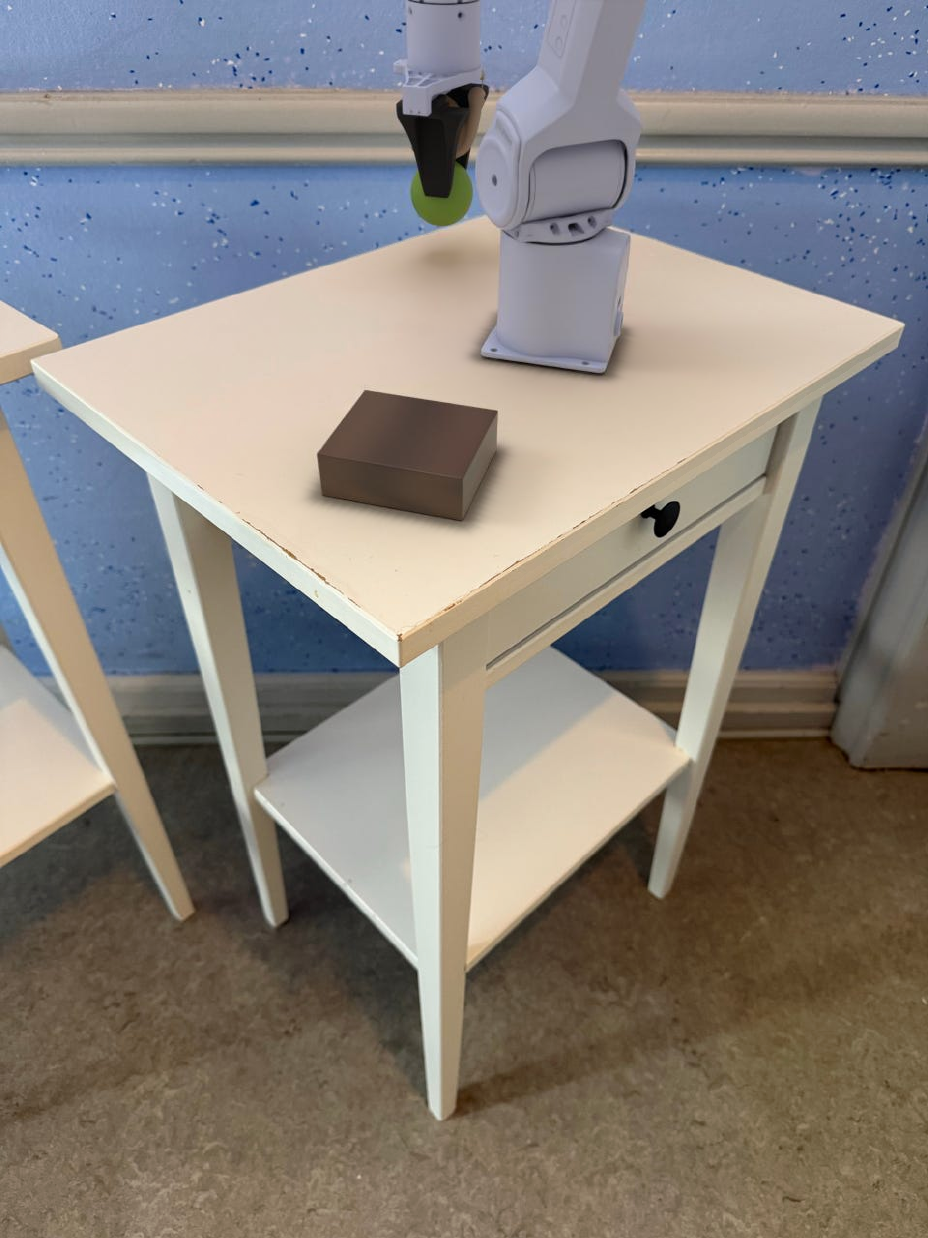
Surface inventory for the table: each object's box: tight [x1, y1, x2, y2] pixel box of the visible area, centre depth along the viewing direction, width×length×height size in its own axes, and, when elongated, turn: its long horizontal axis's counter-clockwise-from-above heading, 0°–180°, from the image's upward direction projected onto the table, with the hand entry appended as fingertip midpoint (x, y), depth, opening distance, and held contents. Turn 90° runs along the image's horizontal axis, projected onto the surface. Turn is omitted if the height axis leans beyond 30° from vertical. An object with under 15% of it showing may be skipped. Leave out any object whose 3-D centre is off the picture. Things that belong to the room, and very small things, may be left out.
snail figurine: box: [409, 69, 486, 227], centre depth 77 cm, size 5×6×12 cm
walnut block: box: [316, 389, 499, 521], centre depth 56 cm, size 9×8×3 cm
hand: (444, 187), depth 78 cm, fingers closed on snail figurine, 4 cm apart
